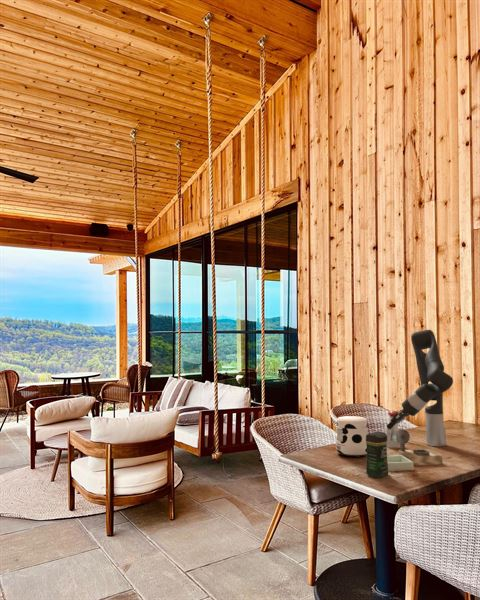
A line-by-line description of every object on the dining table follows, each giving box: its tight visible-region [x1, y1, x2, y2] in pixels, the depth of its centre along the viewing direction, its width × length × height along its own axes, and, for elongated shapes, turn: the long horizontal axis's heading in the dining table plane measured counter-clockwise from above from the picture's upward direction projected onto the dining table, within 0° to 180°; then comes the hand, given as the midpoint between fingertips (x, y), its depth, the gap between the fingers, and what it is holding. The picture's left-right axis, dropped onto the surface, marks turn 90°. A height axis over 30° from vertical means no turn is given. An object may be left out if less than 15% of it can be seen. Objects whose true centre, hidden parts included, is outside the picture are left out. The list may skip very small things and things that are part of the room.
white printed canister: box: [335, 415, 369, 458], centre depth 235 cm, size 17×17×18 cm
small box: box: [384, 425, 402, 449], centre depth 249 cm, size 8×6×10 cm
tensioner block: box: [397, 428, 443, 466], centre depth 221 cm, size 18×12×14 cm, turn 96°
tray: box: [387, 454, 415, 472], centre depth 213 cm, size 12×12×3 cm
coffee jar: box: [365, 430, 389, 479], centre depth 201 cm, size 10×8×19 cm
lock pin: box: [387, 410, 399, 442], centre depth 214 cm, size 5×5×13 cm
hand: (389, 427), depth 215 cm, fingers closed on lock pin, 3 cm apart
